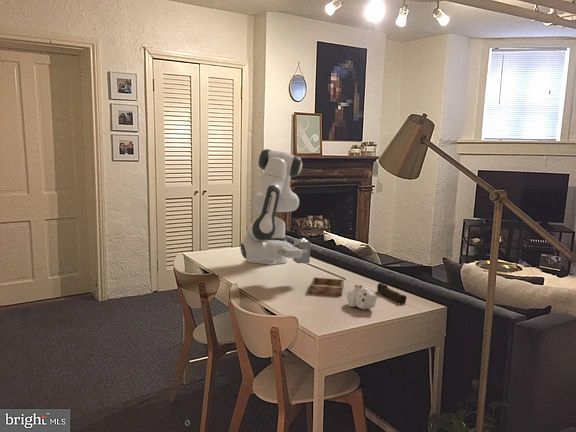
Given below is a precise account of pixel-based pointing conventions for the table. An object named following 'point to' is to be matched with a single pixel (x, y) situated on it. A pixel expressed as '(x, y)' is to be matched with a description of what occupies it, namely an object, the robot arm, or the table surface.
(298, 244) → the gravel tin
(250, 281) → the table surface
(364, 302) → the cat figurine
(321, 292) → the walnut tray
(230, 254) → the table surface
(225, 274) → the table surface
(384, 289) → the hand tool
